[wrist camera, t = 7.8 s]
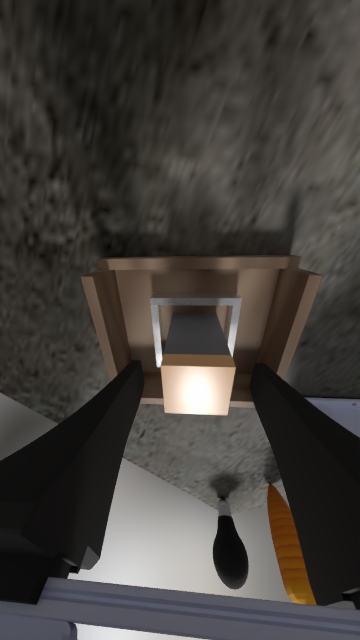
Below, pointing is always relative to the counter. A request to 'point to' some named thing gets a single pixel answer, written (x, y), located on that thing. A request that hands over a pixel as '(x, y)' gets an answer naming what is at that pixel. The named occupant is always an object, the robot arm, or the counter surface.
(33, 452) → the robot arm
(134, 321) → the walnut box
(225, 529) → the light bulb
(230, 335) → the frame
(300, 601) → the carrot
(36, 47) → the counter surface
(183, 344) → the two-tone rectangular block
